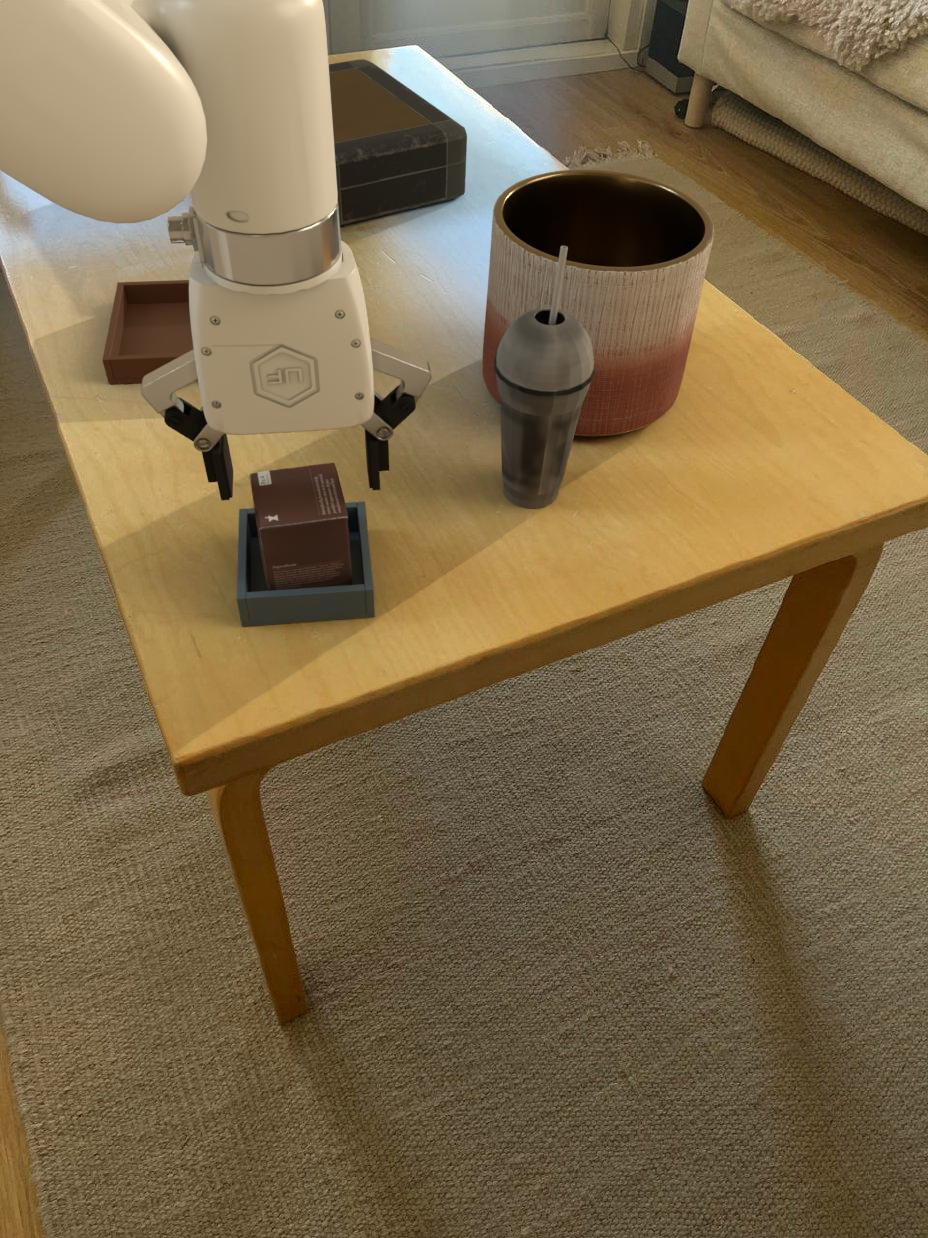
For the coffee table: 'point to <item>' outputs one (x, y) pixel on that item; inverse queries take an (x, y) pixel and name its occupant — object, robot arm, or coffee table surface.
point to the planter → (604, 283)
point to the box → (302, 527)
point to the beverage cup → (541, 397)
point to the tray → (146, 329)
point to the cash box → (390, 145)
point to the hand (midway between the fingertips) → (301, 481)
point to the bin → (303, 602)
